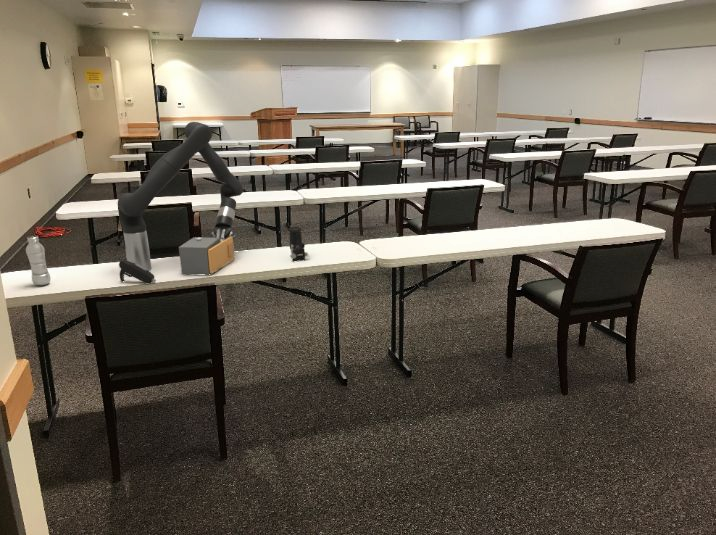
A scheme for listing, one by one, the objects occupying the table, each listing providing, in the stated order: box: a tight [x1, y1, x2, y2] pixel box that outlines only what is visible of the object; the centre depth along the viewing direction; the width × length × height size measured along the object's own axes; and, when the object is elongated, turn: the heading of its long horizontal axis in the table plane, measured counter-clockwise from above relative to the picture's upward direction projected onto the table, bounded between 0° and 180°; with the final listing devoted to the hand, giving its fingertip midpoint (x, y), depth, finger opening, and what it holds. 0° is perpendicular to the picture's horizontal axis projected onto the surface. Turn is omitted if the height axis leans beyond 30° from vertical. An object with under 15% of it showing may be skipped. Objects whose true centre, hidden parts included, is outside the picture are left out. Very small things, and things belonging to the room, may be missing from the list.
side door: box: [208, 237, 235, 274], centre depth 242 cm, size 2×22×10 cm, turn 167°
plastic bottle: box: [25, 235, 51, 286], centre depth 223 cm, size 6×7×20 cm
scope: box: [288, 226, 309, 263], centre depth 253 cm, size 8×14×10 cm
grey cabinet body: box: [178, 236, 221, 276], centre depth 240 cm, size 14×16×13 cm
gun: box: [118, 259, 157, 284], centre depth 226 cm, size 3×16×10 cm, turn 79°
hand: (218, 251), depth 249 cm, fingers closed
